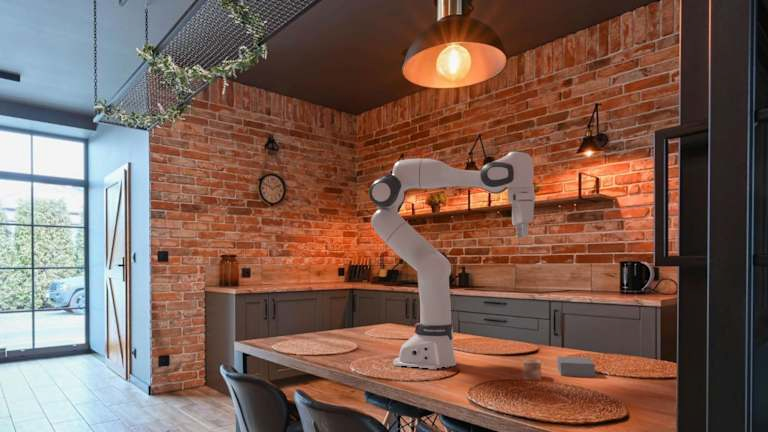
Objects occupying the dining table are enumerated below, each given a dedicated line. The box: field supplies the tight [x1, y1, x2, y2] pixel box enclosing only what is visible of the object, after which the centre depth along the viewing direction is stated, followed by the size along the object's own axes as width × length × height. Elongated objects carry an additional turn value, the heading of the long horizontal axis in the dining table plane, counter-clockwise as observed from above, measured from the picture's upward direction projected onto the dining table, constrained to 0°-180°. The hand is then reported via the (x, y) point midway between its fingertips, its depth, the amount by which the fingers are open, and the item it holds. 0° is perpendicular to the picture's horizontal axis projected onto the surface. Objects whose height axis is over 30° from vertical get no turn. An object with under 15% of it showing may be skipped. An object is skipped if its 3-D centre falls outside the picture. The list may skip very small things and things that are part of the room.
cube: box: [522, 359, 542, 381], centre depth 153 cm, size 5×5×5 cm
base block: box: [557, 356, 596, 378], centre depth 158 cm, size 10×10×4 cm
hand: (522, 237), depth 168 cm, fingers open, 8 cm apart
